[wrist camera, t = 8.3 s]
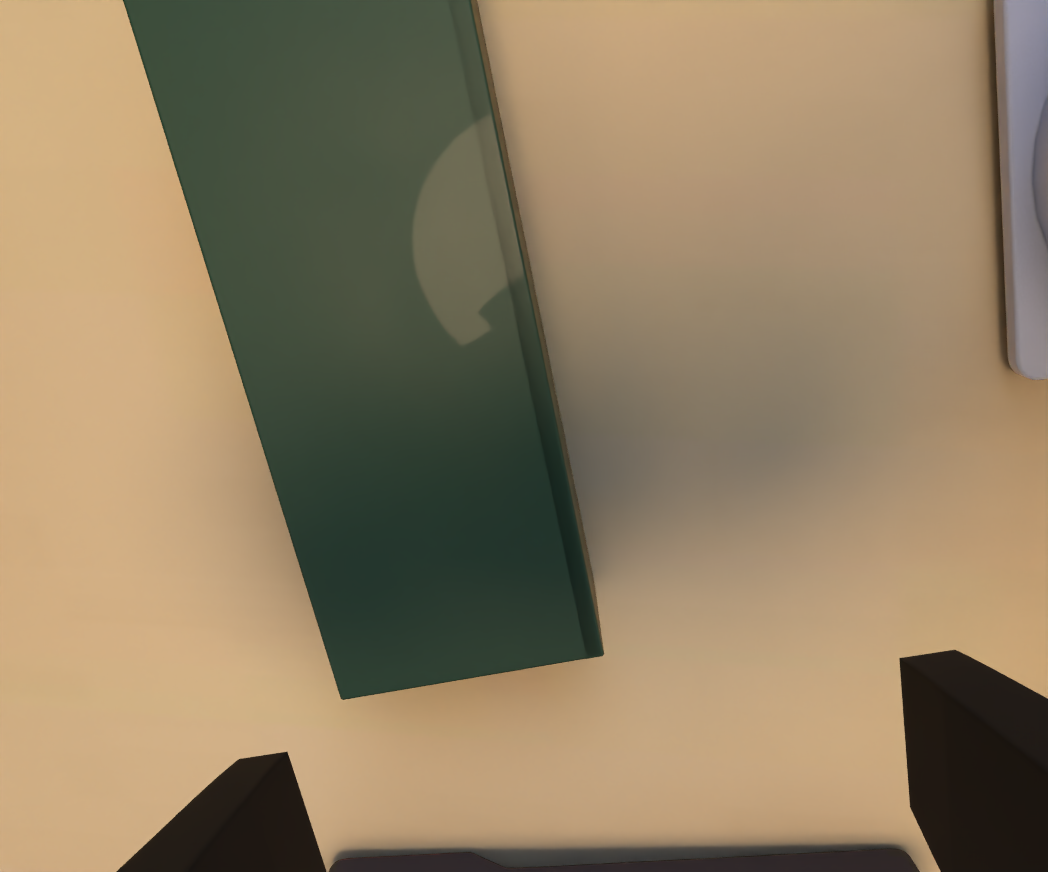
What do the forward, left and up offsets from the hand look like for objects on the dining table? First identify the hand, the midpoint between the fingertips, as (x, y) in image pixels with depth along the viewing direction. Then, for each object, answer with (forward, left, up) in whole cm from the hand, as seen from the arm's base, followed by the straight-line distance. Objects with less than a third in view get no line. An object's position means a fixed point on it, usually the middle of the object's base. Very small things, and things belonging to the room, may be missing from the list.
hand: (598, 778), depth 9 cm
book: (+3, -5, -9) cm, 11 cm away
